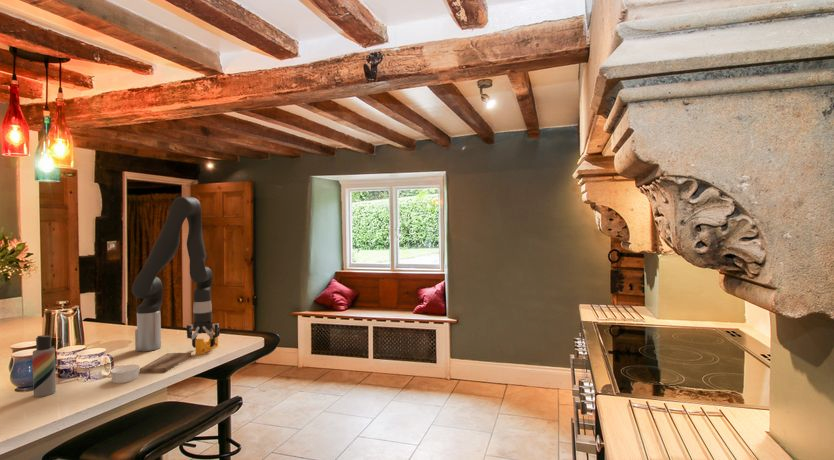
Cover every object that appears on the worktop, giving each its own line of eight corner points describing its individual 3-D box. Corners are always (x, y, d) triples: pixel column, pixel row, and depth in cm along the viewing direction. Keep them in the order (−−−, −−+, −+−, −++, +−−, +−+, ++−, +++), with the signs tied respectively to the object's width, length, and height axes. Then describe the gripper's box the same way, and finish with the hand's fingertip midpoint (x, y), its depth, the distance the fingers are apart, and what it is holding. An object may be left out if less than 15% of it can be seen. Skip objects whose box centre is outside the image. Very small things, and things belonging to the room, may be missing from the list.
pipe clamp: (209, 346, 199) (209, 332, 199) (218, 346, 198) (217, 333, 198) (192, 354, 187) (191, 339, 187) (200, 354, 187) (200, 339, 186)
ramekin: (117, 386, 151) (116, 374, 150) (106, 381, 155) (105, 369, 155) (144, 378, 158) (143, 366, 158) (132, 374, 163) (132, 362, 163)
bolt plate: (139, 372, 164) (139, 368, 164) (167, 356, 184) (167, 352, 184) (166, 372, 164) (166, 367, 164) (191, 356, 184) (191, 352, 184)
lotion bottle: (33, 394, 144) (31, 335, 144) (55, 389, 148) (53, 332, 148) (34, 398, 140) (32, 338, 140) (56, 393, 144) (55, 335, 144)
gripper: (222, 308, 197) (223, 344, 197) (190, 309, 196) (191, 345, 197) (215, 312, 190) (216, 348, 190) (182, 313, 189) (183, 349, 189)
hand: (203, 346), depth 193 cm, fingers open, 7 cm apart
